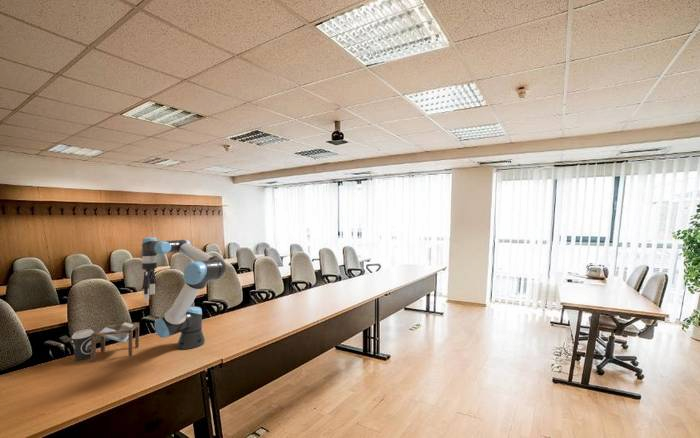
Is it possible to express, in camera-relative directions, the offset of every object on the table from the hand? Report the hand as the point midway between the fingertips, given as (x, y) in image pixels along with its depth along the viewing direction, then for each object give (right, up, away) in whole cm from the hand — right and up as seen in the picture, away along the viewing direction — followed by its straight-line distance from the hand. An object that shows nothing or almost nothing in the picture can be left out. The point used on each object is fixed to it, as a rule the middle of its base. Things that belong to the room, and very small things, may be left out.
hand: (149, 296), depth 182 cm
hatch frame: (-12, -31, -10) cm, 35 cm away
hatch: (-13, -20, -11) cm, 26 cm away
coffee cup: (-27, -31, -16) cm, 44 cm away
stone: (-10, -21, -10) cm, 25 cm away
